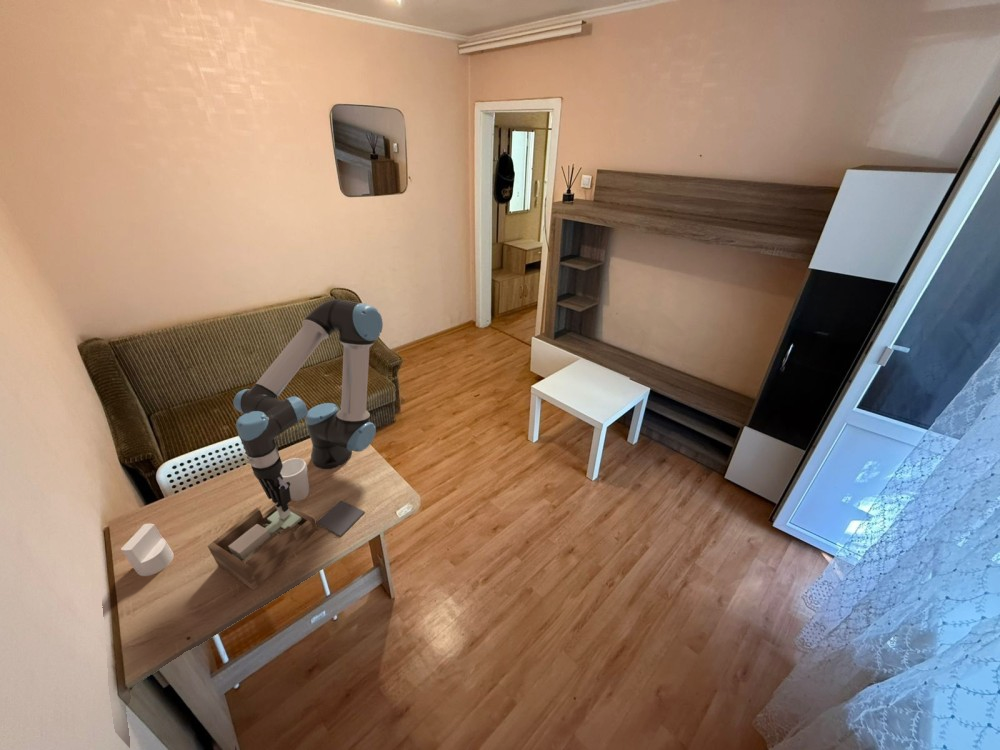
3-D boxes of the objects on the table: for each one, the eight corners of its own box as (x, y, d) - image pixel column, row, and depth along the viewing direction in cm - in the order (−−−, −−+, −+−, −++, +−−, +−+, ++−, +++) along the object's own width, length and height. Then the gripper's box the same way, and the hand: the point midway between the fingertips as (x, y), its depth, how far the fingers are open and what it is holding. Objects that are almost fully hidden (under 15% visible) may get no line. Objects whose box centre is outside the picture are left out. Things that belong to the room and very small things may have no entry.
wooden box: (284, 511, 140) (277, 492, 135) (318, 529, 134) (311, 510, 129) (218, 566, 122) (207, 546, 117) (253, 590, 116) (243, 569, 111)
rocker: (282, 508, 134) (281, 505, 133) (301, 519, 131) (300, 515, 130) (226, 553, 119) (224, 549, 118) (246, 566, 116) (244, 562, 115)
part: (259, 530, 125) (256, 523, 124) (270, 536, 124) (268, 530, 122) (231, 552, 118) (228, 546, 117) (242, 560, 116) (239, 553, 115)
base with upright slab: (152, 548, 127) (135, 522, 121) (180, 549, 127) (165, 524, 120) (128, 575, 119) (109, 549, 113) (158, 576, 119) (140, 550, 113)
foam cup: (303, 506, 142) (294, 479, 135) (279, 501, 143) (269, 474, 137) (319, 486, 150) (311, 460, 143) (296, 482, 151) (287, 456, 145)
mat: (341, 500, 144) (340, 499, 144) (364, 512, 140) (364, 511, 140) (316, 523, 136) (316, 522, 135) (340, 536, 132) (340, 535, 131)
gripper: (238, 461, 118) (261, 516, 130) (269, 476, 113) (289, 532, 125) (262, 445, 123) (281, 500, 135) (291, 460, 118) (309, 515, 130)
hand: (285, 515), depth 130 cm, fingers closed
